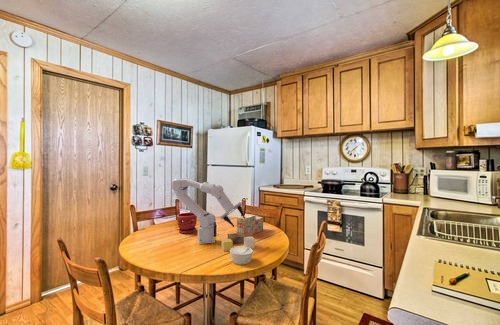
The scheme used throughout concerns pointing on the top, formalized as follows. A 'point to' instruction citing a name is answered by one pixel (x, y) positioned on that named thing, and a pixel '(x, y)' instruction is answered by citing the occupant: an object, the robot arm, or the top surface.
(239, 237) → the walnut base block
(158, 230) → the top surface
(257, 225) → the stack of blocks
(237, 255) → the ramekin
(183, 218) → the plant pot
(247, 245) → the off-white block
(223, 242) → the ochre block
